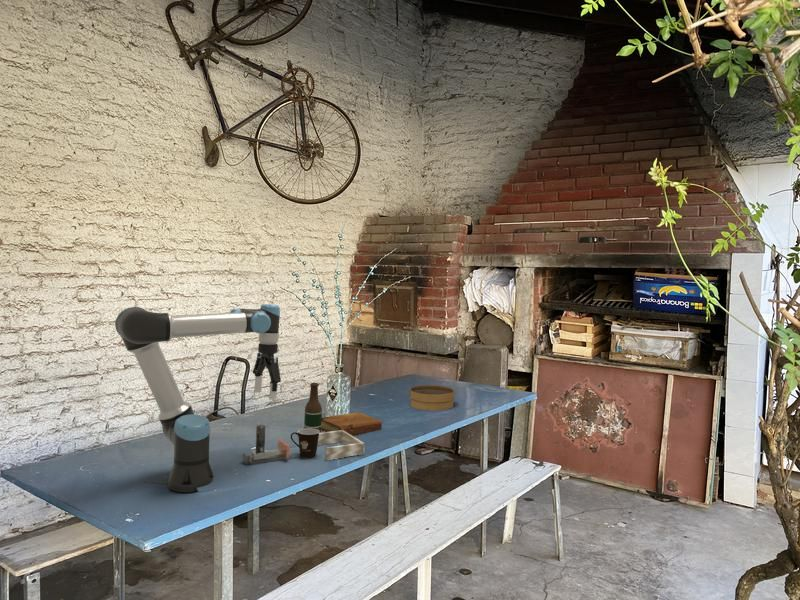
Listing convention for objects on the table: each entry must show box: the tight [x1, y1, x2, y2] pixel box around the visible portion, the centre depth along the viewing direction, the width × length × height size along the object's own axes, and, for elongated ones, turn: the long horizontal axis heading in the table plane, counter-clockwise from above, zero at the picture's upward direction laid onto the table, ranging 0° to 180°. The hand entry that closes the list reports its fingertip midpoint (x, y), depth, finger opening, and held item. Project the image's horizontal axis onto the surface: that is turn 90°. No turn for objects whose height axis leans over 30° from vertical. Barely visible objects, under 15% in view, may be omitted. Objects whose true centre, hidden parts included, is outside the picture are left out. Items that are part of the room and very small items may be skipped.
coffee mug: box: [290, 428, 320, 459], centre depth 233 cm, size 12×9×10 cm
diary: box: [321, 412, 383, 437], centre depth 270 cm, size 23×19×6 cm
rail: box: [242, 451, 293, 466], centre depth 225 cm, size 19×4×4 cm, turn 122°
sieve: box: [408, 384, 456, 411], centre depth 318 cm, size 25×25×11 cm
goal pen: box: [317, 430, 366, 461], centre depth 240 cm, size 17×20×5 cm
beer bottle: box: [303, 382, 323, 433], centre depth 259 cm, size 8×8×24 cm
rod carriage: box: [250, 424, 291, 460], centre depth 225 cm, size 13×10×12 cm
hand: (265, 395), depth 228 cm, fingers open, 13 cm apart
